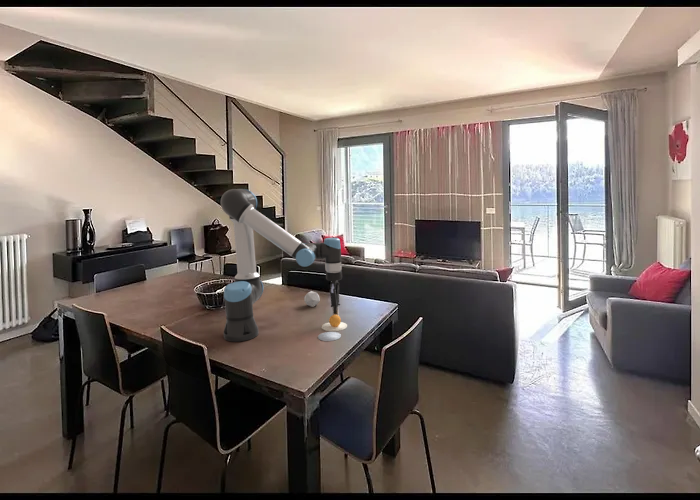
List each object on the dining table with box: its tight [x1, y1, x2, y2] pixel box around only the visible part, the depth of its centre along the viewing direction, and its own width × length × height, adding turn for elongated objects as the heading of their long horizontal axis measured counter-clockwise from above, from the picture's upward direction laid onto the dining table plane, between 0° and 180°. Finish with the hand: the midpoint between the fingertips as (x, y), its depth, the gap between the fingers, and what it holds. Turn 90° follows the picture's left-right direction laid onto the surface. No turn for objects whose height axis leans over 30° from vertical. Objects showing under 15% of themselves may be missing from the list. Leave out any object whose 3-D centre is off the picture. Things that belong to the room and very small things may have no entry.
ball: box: [328, 314, 342, 327], centre depth 179 cm, size 6×6×6 cm
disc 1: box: [321, 321, 348, 332], centre depth 179 cm, size 12×12×1 cm
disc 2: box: [317, 331, 342, 342], centre depth 167 cm, size 10×10×1 cm
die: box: [304, 290, 321, 308], centre depth 211 cm, size 8×9×10 cm
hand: (336, 319), depth 183 cm, fingers closed
